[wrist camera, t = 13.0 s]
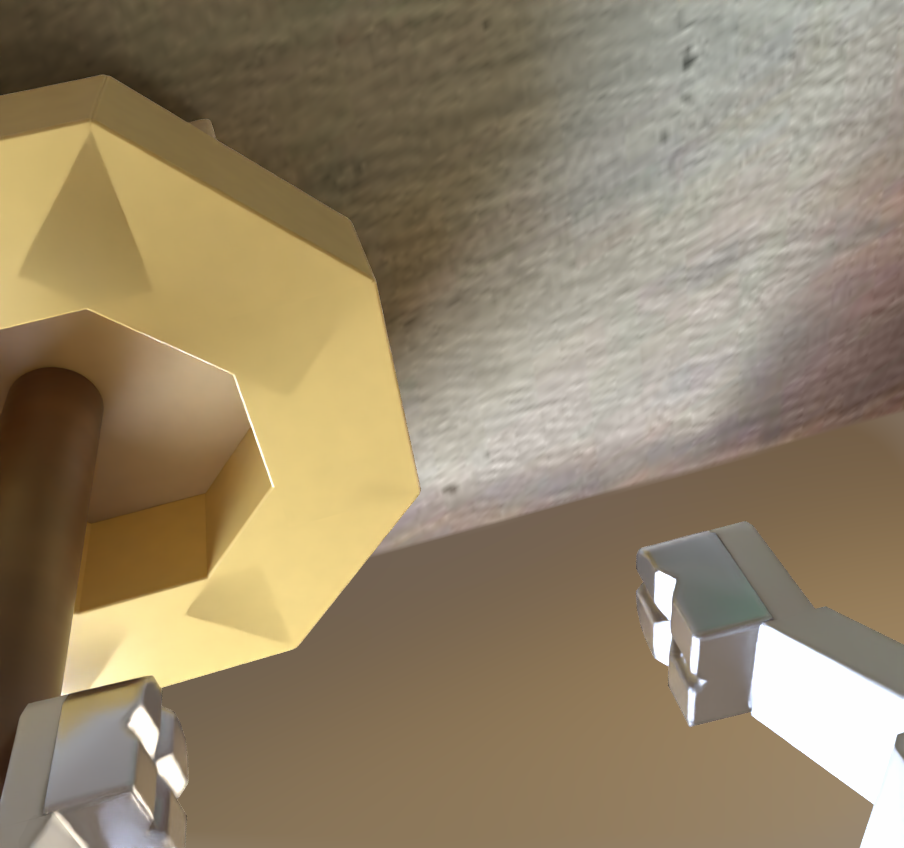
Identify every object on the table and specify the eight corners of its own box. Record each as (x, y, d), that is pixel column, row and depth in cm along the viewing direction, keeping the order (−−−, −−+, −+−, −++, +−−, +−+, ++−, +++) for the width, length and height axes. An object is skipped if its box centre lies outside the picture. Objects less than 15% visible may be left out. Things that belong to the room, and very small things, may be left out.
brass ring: (308, 30, 15) (330, 67, 12) (419, 526, 22) (445, 605, 19) (-433, 183, 13) (-559, 255, 11) (-58, 659, 20) (-89, 761, 18)
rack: (209, 116, 16) (231, 444, 8) (314, 471, 22) (397, 904, 13) (-289, 217, 15) (-930, 735, 7) (-50, 565, 21) (-227, 1107, 12)
